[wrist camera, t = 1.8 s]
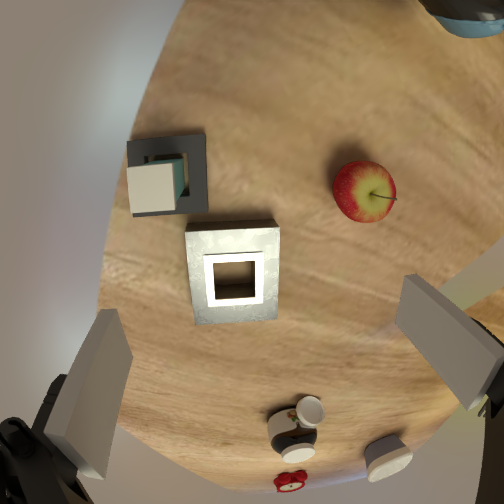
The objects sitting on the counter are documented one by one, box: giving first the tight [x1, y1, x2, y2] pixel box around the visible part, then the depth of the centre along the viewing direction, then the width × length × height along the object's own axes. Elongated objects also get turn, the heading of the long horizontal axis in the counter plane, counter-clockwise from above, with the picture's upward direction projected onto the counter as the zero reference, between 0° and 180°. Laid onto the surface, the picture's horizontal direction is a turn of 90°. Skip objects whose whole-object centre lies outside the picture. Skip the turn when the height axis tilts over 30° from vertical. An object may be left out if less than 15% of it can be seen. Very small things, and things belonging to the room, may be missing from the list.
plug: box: [127, 158, 185, 213], centre depth 31 cm, size 4×4×12 cm
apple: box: [333, 161, 397, 223], centre depth 36 cm, size 8×8×10 cm
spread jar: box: [267, 396, 325, 463], centre depth 52 cm, size 12×11×12 cm
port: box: [185, 219, 280, 325], centre depth 41 cm, size 14×12×4 cm
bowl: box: [364, 435, 413, 482], centre depth 68 cm, size 15×15×11 cm
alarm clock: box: [274, 470, 308, 492], centre depth 71 cm, size 10×6×15 cm
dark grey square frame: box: [127, 134, 208, 217], centre depth 36 cm, size 10×10×2 cm
